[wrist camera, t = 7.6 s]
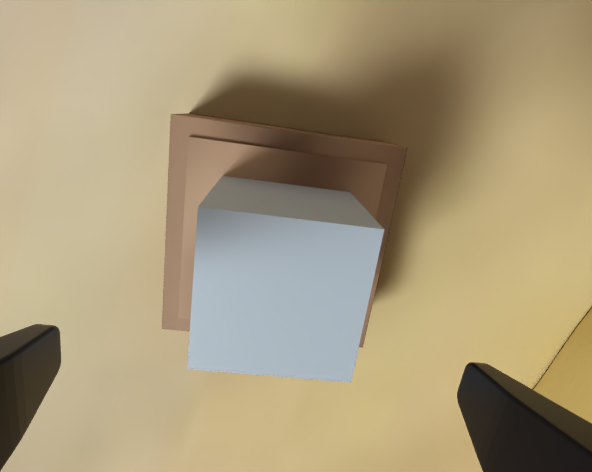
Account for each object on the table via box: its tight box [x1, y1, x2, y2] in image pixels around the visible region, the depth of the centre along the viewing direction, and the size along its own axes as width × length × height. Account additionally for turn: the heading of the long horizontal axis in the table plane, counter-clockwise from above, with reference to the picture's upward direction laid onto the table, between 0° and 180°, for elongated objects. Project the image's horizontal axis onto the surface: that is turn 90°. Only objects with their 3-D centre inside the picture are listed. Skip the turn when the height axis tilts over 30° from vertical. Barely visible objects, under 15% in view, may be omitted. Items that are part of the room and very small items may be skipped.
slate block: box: [187, 176, 384, 382], centre depth 13 cm, size 5×5×5 cm
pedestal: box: [162, 114, 407, 347], centre depth 17 cm, size 9×9×3 cm
